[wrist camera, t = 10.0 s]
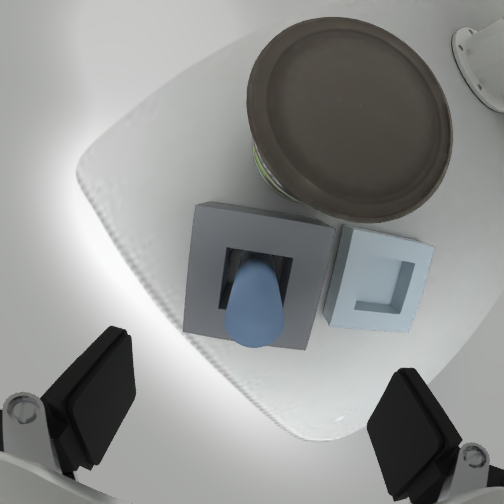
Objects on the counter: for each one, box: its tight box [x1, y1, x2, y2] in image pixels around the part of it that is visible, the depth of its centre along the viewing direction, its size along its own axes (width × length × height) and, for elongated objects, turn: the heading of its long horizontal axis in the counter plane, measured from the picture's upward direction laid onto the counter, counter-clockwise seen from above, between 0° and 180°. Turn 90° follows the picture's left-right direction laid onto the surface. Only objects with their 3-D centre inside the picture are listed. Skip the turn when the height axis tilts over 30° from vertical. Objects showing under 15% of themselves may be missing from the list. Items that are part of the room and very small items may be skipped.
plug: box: [224, 250, 285, 348], centre depth 20 cm, size 3×3×12 cm
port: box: [183, 202, 335, 350], centre depth 23 cm, size 10×10×6 cm
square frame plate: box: [323, 224, 434, 332], centre depth 25 cm, size 9×9×3 cm
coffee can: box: [246, 17, 453, 223], centre depth 17 cm, size 10×10×14 cm
